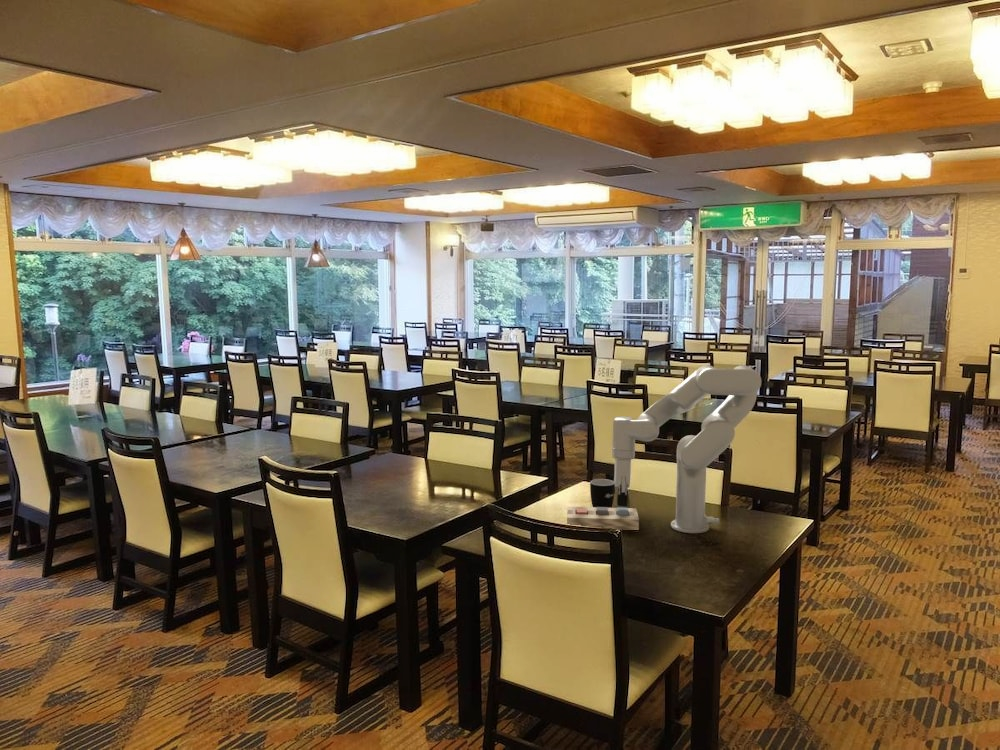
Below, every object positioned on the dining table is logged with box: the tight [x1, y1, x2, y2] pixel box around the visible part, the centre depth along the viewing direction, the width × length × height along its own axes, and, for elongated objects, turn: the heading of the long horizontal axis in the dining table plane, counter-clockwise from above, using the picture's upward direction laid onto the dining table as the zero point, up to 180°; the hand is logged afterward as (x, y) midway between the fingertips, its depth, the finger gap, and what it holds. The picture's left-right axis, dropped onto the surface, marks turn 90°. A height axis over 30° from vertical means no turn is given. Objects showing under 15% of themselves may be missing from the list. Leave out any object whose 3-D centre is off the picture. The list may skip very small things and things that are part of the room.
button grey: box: [597, 507, 608, 515], centre depth 249 cm, size 4×4×3 cm
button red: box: [577, 509, 587, 514], centre depth 250 cm, size 4×4×3 cm
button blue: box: [616, 506, 629, 516], centre depth 248 cm, size 4×4×3 cm
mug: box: [589, 478, 616, 508], centre depth 267 cm, size 12×9×10 cm
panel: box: [566, 506, 640, 532], centre depth 249 cm, size 24×12×4 cm, turn 84°
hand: (622, 505), depth 248 cm, fingers closed
